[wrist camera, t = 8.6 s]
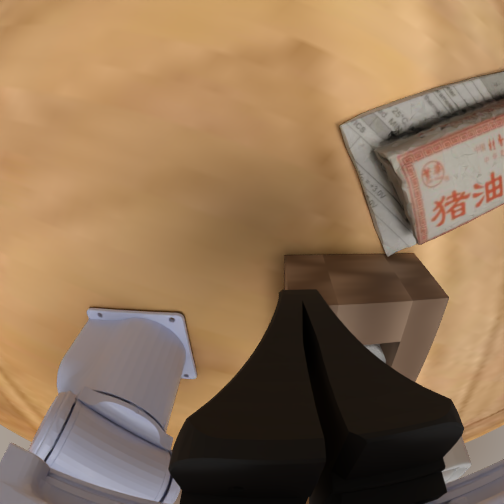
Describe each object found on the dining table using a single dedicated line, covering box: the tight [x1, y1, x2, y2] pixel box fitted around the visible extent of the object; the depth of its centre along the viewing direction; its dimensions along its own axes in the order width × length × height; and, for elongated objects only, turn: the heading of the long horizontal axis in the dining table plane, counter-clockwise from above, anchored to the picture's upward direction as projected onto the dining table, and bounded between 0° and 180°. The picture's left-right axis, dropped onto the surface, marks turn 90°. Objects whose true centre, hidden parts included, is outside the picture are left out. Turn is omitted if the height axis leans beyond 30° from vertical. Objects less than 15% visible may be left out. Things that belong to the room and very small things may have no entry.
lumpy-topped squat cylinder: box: [442, 436, 471, 484], centre depth 32 cm, size 10×13×9 cm
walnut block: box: [284, 253, 449, 382], centre depth 24 cm, size 10×22×6 cm, turn 2°
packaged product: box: [340, 71, 504, 257], centre depth 15 cm, size 18×5×10 cm
